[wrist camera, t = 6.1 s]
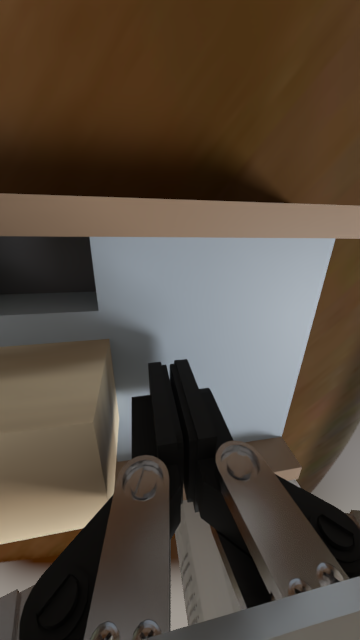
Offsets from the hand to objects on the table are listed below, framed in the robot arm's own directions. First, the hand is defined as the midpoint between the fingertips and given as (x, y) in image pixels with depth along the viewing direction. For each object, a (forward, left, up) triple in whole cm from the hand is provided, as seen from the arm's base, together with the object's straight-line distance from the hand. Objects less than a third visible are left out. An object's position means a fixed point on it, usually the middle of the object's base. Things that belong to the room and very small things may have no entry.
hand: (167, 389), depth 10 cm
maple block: (0, -5, -1) cm, 5 cm away
